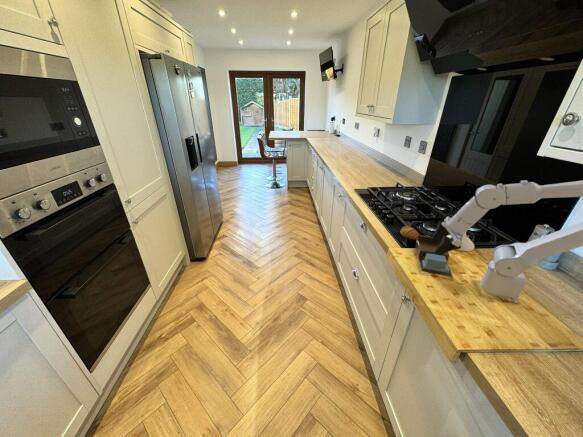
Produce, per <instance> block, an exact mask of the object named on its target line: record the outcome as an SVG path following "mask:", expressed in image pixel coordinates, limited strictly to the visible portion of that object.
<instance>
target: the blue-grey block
mask: <svg viewBox="0 0 583 437" xmlns="http://www.w3.org/2000/svg"><path fill="white" fill-rule="evenodd" d="M424 259H425V260H423V261H422V263H423V267H424V269H430V270H435V271H440V272H445V273H449V269H450V267H449V268H448V266H449V265H448V266H447V264H448V261H447V260H446V258H445V256H440V255H435V254H429V253H425V257H424Z"/></svg>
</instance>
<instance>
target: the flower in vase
mask: <svg viewBox="0 0 583 437" xmlns="http://www.w3.org/2000/svg"><path fill="white" fill-rule="evenodd" d="M447 237H449V238H451V235H450V234H448V235H447ZM462 242H463V243H462V244H461V248H460V249H455V250H456V251H459V252H471V251H474V250H475V243H474V242H473V241H472V240H471V239H470V238H469V237H468V236H467V231H466V232H465V233H464V235H463V239H462ZM455 250H454V251H455Z"/></svg>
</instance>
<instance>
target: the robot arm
mask: <svg viewBox="0 0 583 437" xmlns="http://www.w3.org/2000/svg"><path fill="white" fill-rule="evenodd" d="M474 193H475V194H474V196H472V197H471V198H470V199H469V200H468V201H467V202H466V203H465V204H464V205H463V206H462V207H461V208H460V209H459V210H458V211H457V212H456V213H455V214H454V215H453V216H452V217H450V216H446V217H445V218H444V219H443V221H441V220H439V221H438V223H437V226H436V229H435V232H434V233H433V235H432V236H431V237H432V239H431V240H433V241H435V242H439V241H440V240H441V239H442V242H441V243H440V245H439V246H438V247H437V248H436V250H435V253H436V254H438V255H440V256H441V255H443V254H445V253H447V252H448V253H449V252H451V251H455V249H460V248H461V244H462V243H463V242H462V239H463V235H464V233H465V232H466V233H467V231H469V230H470V229H471V228H472V227H473V226H474V225H475V224H476V223H477V222H478V221H479V220H481V219H482V218H483V217H484V216H485V215H486V213H488V212H489V210H492V209H493V210H494V209H496V208H498V207H500V206H501V205H502V206H506V205H507V206H508V205H521V204H522V205H525V204H536V202H538V201H539V200H541V199H553V198H554V199H555V198H556V199H557V198H583V180H576V181H567V182H559V183H551V184H544V185H540V184H538V183H536V182H534V181H528V180H527V179H526V180H520V182H519V183H517V182H516V183H508V184H503V183H497V184H496V185H494V184H485V185H482V186H480V187H477V188H476V190H475V192H474ZM448 235H451V238H449V237H447V236H448ZM581 247H583V221H581V222H578V223H576V224H574V225H571V226H567V227H564V228H563V229H562V228H561V229H560V230H557V231H554V232H551V233H549V234H546V235H543V236H541V237H538V238H535V239H532V240H529V241H527V242H514V243H510V244H501V245H498V246H496V247H495V248H494V249H493V251H492V256H493V259H492V260H491V261H489V262H488V264H487V267H486V269H485V271H484V272H483V275H482V278H481V279H480V282H479V287H480V288H481V289H482V290H483V291H484V292H486V293H488V294H489V295H492V296H495V297H500V298H510V299H512V300H513V302H514V303H515V304H518V303H519V301H518V299H519V298H520V296H521V294H522V293H523V291H524V289H525V286H526V285H527V278H526V275H525V274H524V272H525V271H527V270H530V269H532V268H534V266H535V264H536V263H537V262H538V261H540V260H543V259H547V258H550V257H553V256H555V255H556V256H557V255H559V254H563V253H565V252H568V251H571V250H575V249H577V248H581Z"/></svg>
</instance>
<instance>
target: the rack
mask: <svg viewBox="0 0 583 437" xmlns="http://www.w3.org/2000/svg"><path fill="white" fill-rule="evenodd" d="M432 237H433V236H428V235H423V234H422V235H421V234H420V235H418V238H417V240H416V242H415V246H414V247H415V250H416V254H417V257H418V263H419V267H420V271H421V272H423V273H429V274H434V275H438V276H443V277H448V278H454V276H453V273H452V271H451V268H450V266H449V264H448V263H447V266H448V268H449V273H445V272H440V271H435V270H430V269H424V267H423V263H422V261H423V260H425V257H423V254H426V253H429V254H435V255H438V254H436V253H435V250H436V248H437V247H438V246H439V245H440V243H441V242H442V239H441V240H440V241H439V242H435V241H433V240H431V239H432ZM441 256H445V258H446V260H447V262H448V260H449V258H450V253H449V252H447V253H445V254H443V255H441Z"/></svg>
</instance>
